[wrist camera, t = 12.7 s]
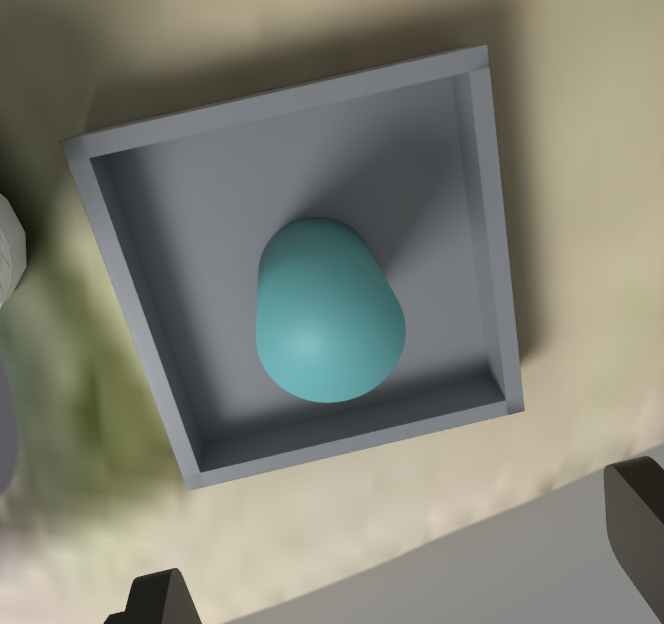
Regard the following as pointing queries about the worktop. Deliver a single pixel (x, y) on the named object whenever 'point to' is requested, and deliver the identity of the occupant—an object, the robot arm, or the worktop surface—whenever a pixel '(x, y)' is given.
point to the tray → (293, 204)
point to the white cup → (10, 250)
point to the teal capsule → (325, 312)
